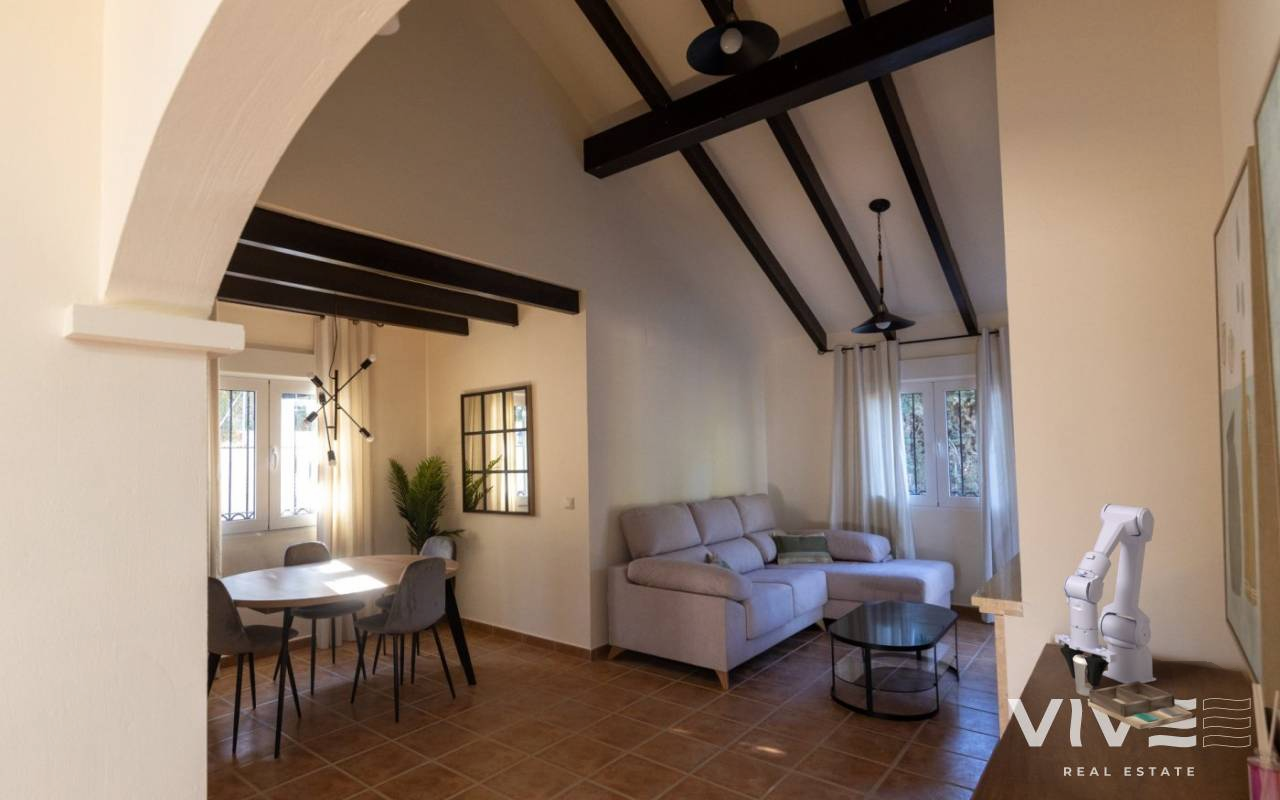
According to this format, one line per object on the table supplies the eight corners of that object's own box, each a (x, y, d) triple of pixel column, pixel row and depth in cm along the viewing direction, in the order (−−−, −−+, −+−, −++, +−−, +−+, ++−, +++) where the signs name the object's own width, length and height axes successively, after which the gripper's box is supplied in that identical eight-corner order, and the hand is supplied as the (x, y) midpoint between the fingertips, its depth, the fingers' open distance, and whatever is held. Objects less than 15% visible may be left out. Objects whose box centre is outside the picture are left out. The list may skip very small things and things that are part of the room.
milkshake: (1102, 698, 158) (1102, 657, 158) (1077, 696, 159) (1077, 655, 159) (1093, 689, 163) (1093, 649, 162) (1069, 688, 164) (1069, 648, 164)
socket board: (1138, 695, 159) (1137, 680, 159) (1192, 717, 148) (1192, 701, 148) (1088, 705, 155) (1087, 690, 155) (1140, 729, 143) (1139, 713, 143)
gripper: (1045, 618, 167) (1046, 672, 167) (1099, 637, 153) (1101, 696, 153) (1066, 615, 169) (1068, 668, 169) (1122, 633, 155) (1124, 691, 155)
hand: (1085, 681), depth 161 cm, fingers closed on milkshake, 4 cm apart
